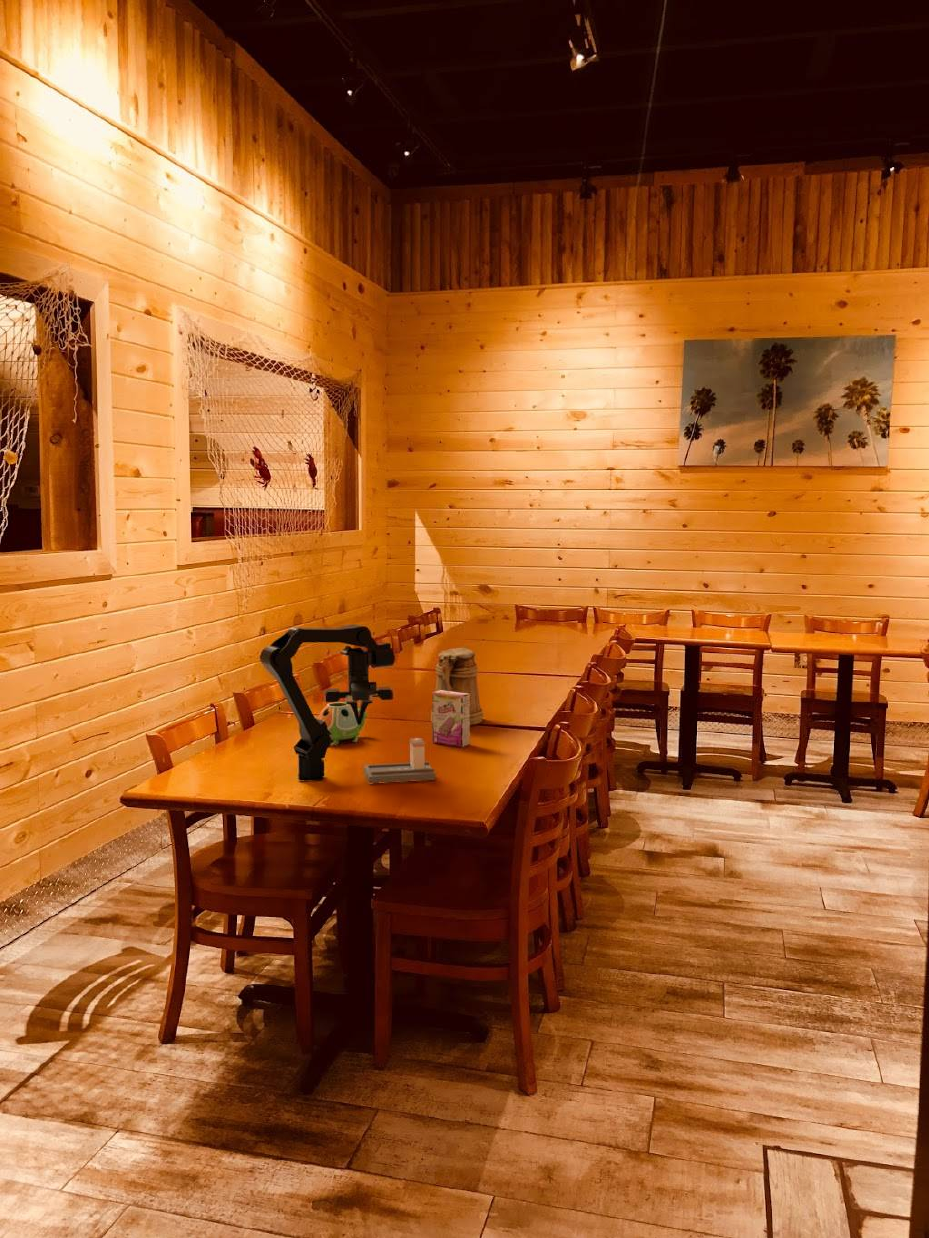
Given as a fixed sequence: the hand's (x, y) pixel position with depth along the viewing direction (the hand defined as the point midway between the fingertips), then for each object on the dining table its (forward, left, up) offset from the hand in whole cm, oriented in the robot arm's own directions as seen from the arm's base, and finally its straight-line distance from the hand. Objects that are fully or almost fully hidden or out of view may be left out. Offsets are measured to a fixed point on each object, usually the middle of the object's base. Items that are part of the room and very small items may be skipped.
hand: (359, 724), depth 275 cm
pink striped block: (+15, -9, -11) cm, 21 cm away
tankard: (+38, +53, -13) cm, 66 cm away
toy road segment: (+10, -9, -13) cm, 19 cm away
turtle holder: (-2, +36, -13) cm, 38 cm away
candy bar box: (+31, +24, -13) cm, 41 cm away
